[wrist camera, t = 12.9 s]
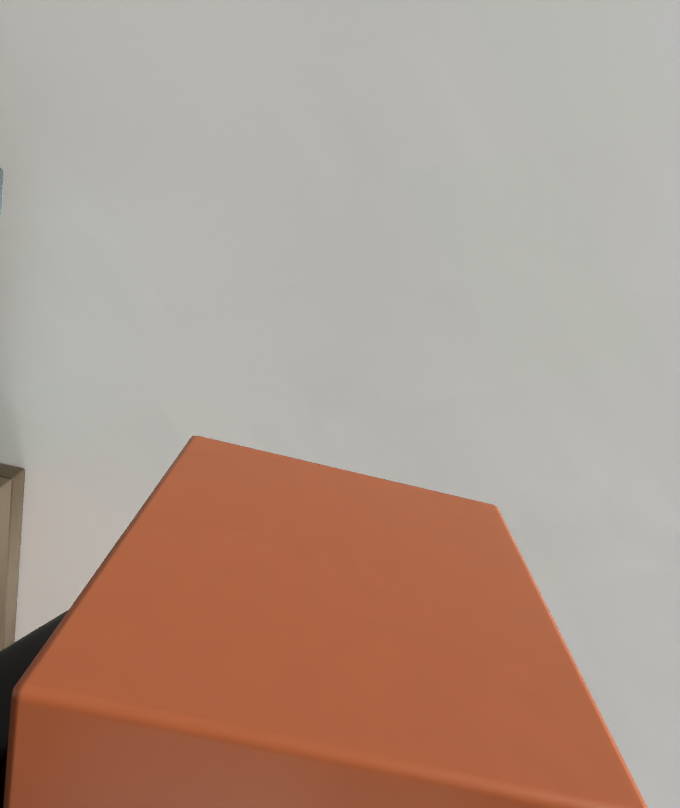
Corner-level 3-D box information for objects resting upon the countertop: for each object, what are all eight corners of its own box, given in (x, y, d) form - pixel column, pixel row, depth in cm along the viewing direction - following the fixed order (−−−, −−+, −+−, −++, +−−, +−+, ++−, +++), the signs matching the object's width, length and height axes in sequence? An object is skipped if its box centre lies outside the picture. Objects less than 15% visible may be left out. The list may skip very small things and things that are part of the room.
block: (498, 503, 8) (660, 820, 4) (410, 731, 9) (460, 1147, 5) (192, 431, 8) (4, 688, 4) (148, 677, 9) (-21, 1070, 5)
